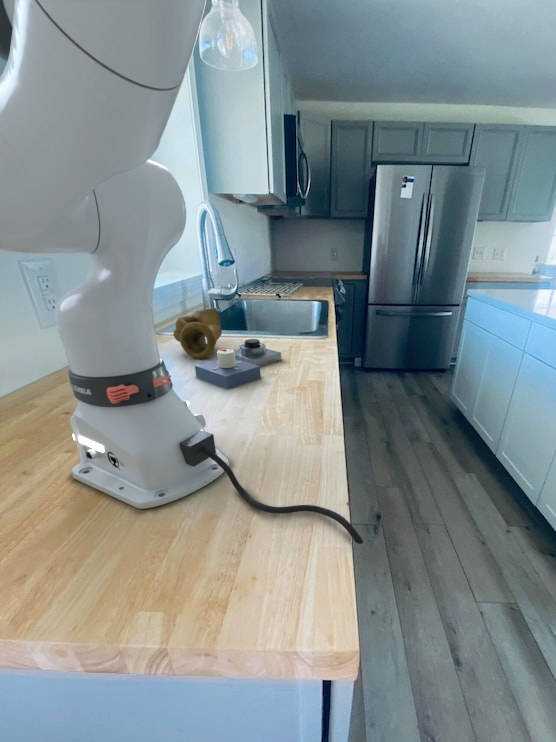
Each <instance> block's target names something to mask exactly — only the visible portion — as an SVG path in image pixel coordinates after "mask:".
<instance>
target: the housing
mask: <svg viewBox="0 0 556 742" xmlns="http://www.w3.org/2000/svg"><path fill="white" fill-rule="evenodd" d="M233 350H234V351H235V359H237V360H241V361H244V362H247V363H251V364H254V365H257V366H260V367H263V366H267V365H270V364H273V363H276V362H279V361H282V352H281V351H276V350H273V349H269V348H267V346H266V344H265V343H262V342H260V347H257V348H247V347H245V343H241V344H240V345H239V347H238V348H235V349H233Z"/></svg>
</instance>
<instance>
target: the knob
mask: <svg viewBox="0 0 556 742" xmlns="http://www.w3.org/2000/svg"><path fill="white" fill-rule="evenodd" d="M216 355H217V360H218V364H219V367H221V368H232V367H235V366H236V361H235V351H234V349H231V348H221V347H220V348H219V349H218V350H217V351H216Z"/></svg>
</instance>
